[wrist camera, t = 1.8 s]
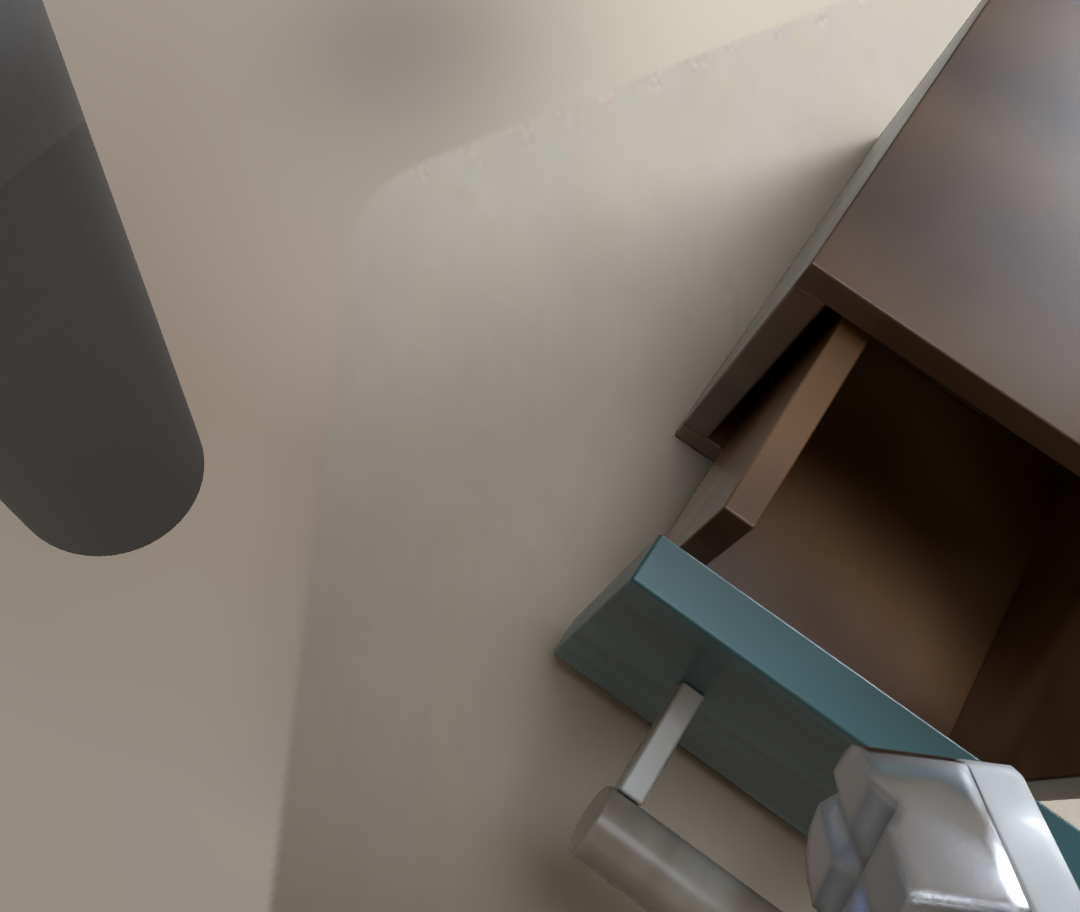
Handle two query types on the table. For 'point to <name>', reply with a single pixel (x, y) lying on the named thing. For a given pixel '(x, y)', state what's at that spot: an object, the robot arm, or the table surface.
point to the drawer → (840, 611)
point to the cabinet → (953, 238)
